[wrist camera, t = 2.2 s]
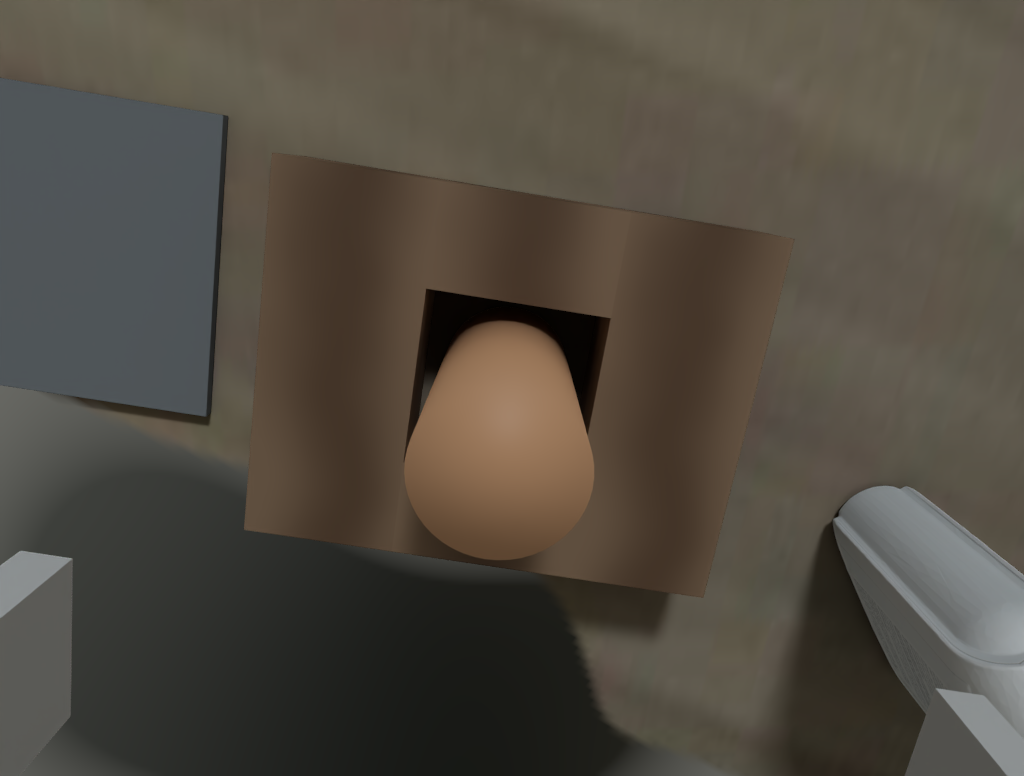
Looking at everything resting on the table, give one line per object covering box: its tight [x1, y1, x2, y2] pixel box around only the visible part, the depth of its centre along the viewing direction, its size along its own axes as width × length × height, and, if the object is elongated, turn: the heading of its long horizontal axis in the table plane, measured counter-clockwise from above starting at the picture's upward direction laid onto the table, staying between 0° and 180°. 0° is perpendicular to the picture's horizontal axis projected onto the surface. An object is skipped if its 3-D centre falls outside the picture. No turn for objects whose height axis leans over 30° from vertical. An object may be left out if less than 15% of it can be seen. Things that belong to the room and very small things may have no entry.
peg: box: [404, 307, 594, 560], centre depth 26 cm, size 5×5×12 cm
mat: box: [0, 78, 228, 417], centre depth 30 cm, size 12×12×1 cm
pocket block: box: [244, 153, 795, 598], centre depth 30 cm, size 18×14×4 cm
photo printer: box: [833, 486, 1024, 739], centre depth 28 cm, size 10×4×12 cm, turn 27°
